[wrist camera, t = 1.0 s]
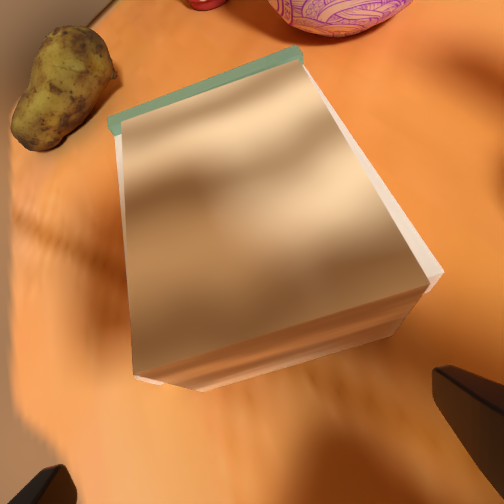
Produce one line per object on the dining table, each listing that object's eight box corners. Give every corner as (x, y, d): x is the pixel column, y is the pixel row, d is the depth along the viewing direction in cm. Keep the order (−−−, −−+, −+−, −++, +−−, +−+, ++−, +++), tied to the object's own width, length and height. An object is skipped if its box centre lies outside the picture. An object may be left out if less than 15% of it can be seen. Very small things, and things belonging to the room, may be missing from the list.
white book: (429, 291, 20) (450, 263, 16) (159, 385, 20) (125, 377, 17) (299, 86, 31) (296, 44, 28) (130, 150, 32) (107, 117, 29)
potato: (28, 128, 38) (-38, 63, 31) (124, 77, 39) (80, 2, 32) (39, 169, 34) (-35, 104, 27) (145, 110, 35) (101, 33, 28)
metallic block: (391, 336, 19) (430, 283, 12) (204, 392, 20) (133, 374, 13) (305, 156, 27) (298, 58, 20) (174, 200, 28) (120, 121, 21)
